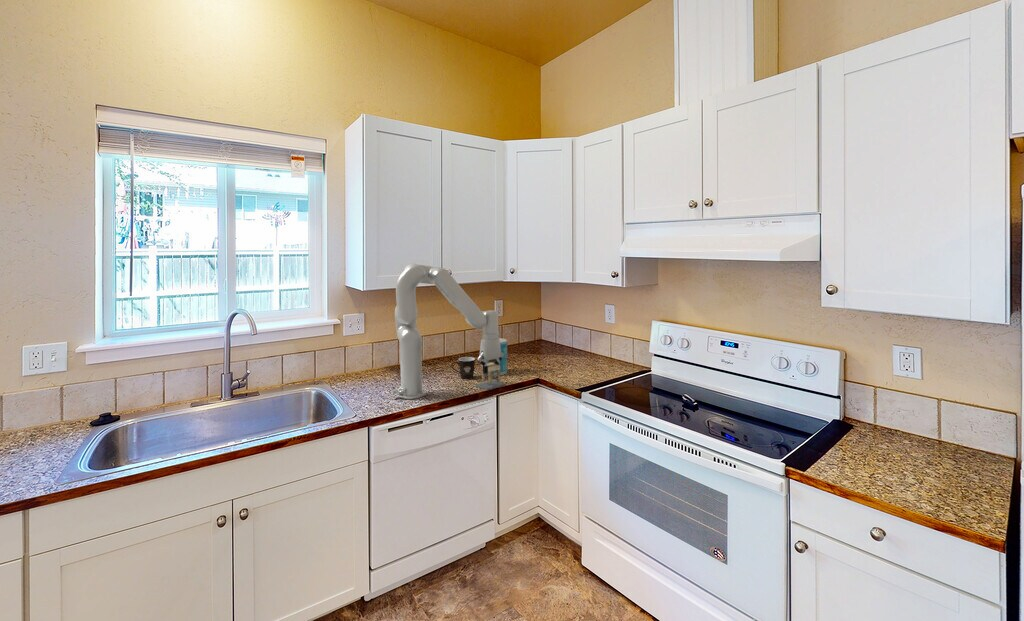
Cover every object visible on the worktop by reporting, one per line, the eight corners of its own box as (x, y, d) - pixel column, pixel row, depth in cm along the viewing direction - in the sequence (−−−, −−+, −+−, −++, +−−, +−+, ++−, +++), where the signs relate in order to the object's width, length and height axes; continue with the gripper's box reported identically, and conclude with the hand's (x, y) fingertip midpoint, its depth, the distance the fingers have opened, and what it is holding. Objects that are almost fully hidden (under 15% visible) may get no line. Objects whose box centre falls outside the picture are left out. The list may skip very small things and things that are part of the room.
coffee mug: (477, 376, 236) (477, 357, 235) (471, 380, 228) (471, 361, 227) (457, 374, 239) (456, 356, 238) (450, 379, 231) (450, 360, 230)
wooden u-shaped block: (481, 380, 220) (481, 365, 219) (492, 378, 224) (492, 362, 223) (489, 383, 215) (489, 367, 214) (500, 381, 219) (500, 365, 218)
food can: (491, 377, 234) (491, 343, 232) (481, 371, 244) (480, 339, 242) (511, 373, 240) (511, 341, 238) (500, 368, 250) (500, 337, 248)
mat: (486, 390, 213) (486, 388, 213) (475, 386, 219) (475, 384, 219) (506, 385, 220) (506, 383, 220) (494, 381, 227) (494, 379, 227)
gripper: (499, 332, 225) (499, 367, 227) (471, 337, 214) (472, 373, 216) (509, 335, 219) (509, 370, 222) (480, 339, 208) (481, 377, 211)
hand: (490, 371), depth 219 cm, fingers closed on wooden u-shaped block, 6 cm apart
